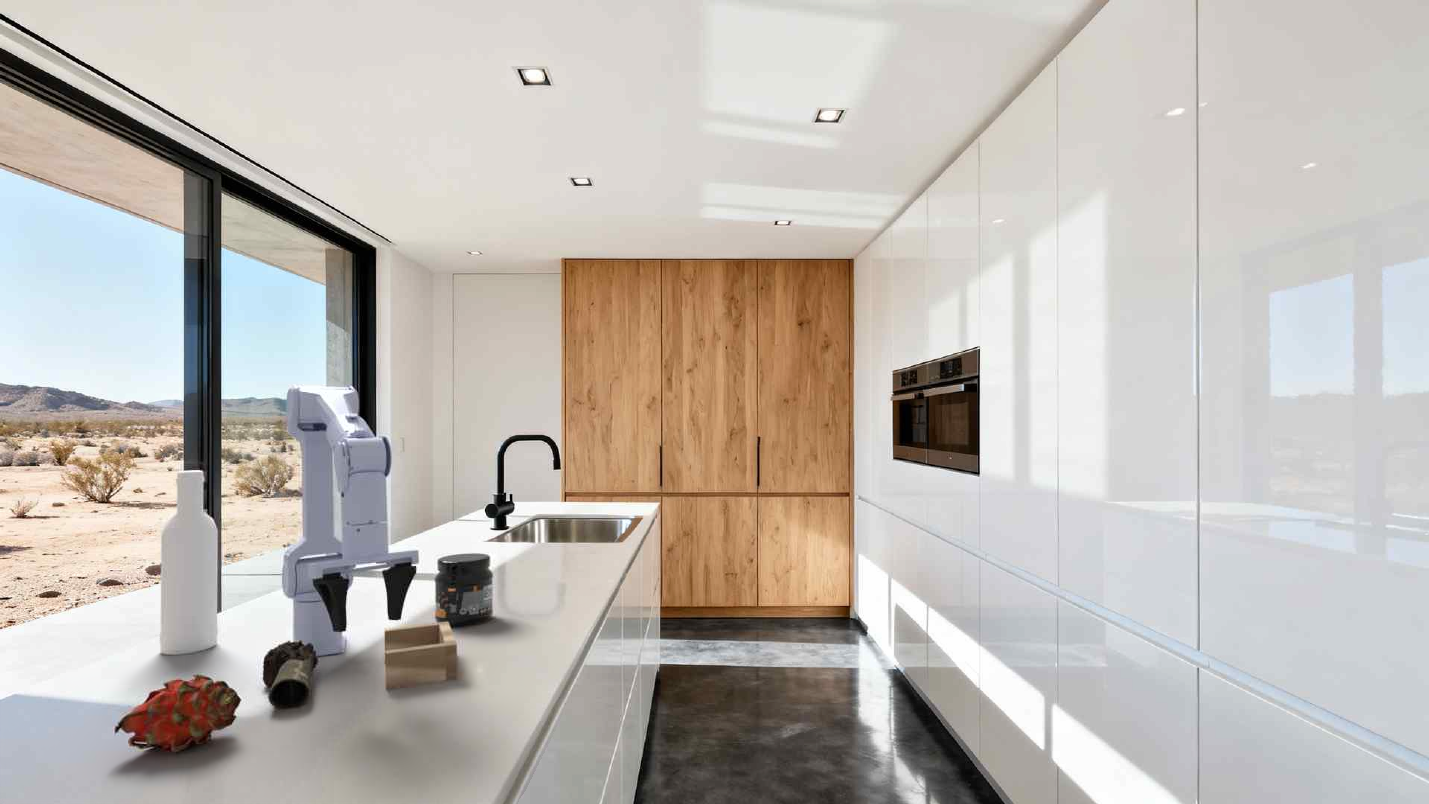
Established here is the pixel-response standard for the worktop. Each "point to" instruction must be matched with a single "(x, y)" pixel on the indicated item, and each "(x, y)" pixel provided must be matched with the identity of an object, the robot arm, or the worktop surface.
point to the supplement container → (463, 589)
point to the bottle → (189, 572)
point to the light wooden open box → (420, 654)
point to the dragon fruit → (181, 714)
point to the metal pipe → (289, 674)
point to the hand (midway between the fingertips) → (368, 625)
